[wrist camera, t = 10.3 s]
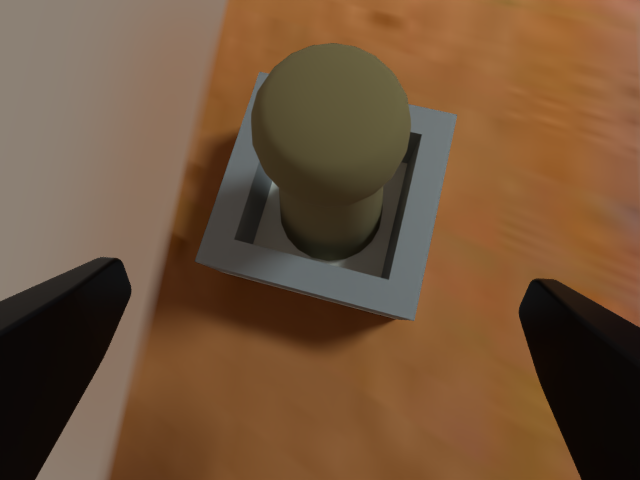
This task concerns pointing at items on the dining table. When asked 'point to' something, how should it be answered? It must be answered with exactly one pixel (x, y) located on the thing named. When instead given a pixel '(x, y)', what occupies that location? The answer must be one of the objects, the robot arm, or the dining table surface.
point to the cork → (330, 145)
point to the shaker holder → (338, 275)
